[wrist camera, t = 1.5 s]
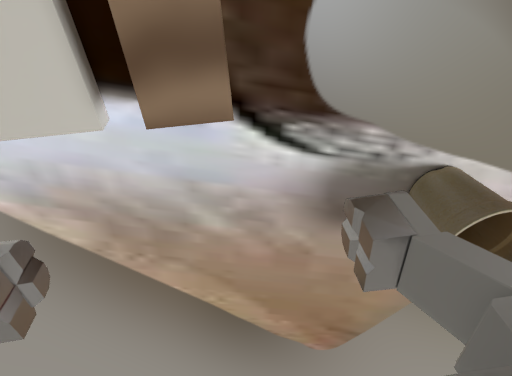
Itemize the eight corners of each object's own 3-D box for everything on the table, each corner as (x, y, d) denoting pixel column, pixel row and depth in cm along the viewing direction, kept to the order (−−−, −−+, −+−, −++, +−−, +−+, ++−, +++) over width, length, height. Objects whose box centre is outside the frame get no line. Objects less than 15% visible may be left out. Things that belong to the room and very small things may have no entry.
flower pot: (454, 220, 39) (506, 280, 32) (381, 221, 37) (419, 284, 31) (496, 153, 33) (570, 208, 26) (411, 151, 32) (466, 209, 25)
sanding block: (116, -54, 20) (92, -53, 16) (213, -62, 20) (213, -62, 16) (156, 100, 26) (146, 129, 22) (230, 93, 26) (233, 120, 22)
